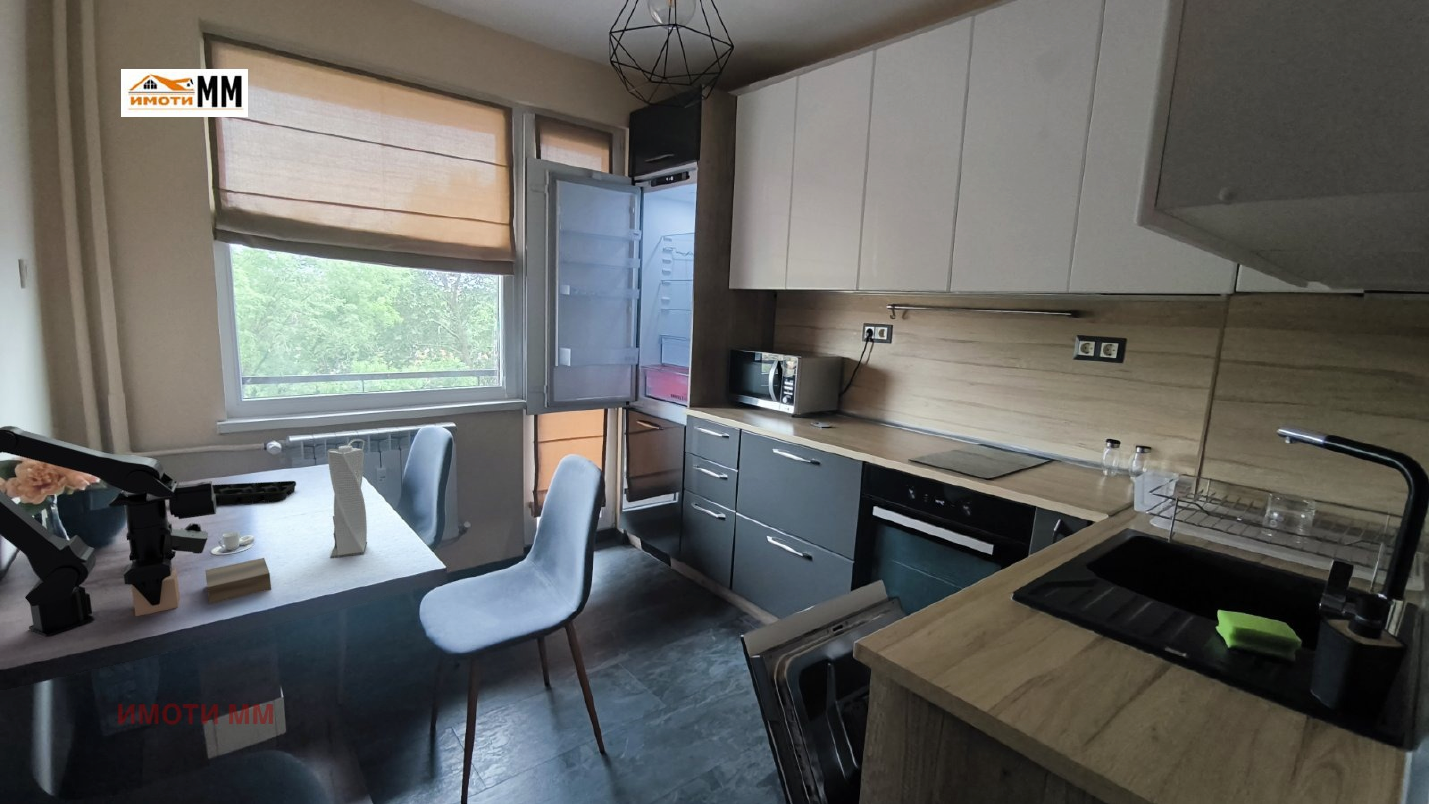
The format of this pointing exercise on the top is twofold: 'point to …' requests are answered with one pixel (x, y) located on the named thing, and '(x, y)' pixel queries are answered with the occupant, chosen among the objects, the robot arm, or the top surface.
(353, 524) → the skyscraper
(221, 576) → the walnut block
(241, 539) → the teacup and saucer
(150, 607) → the terracotta cube
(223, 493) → the egg carton
